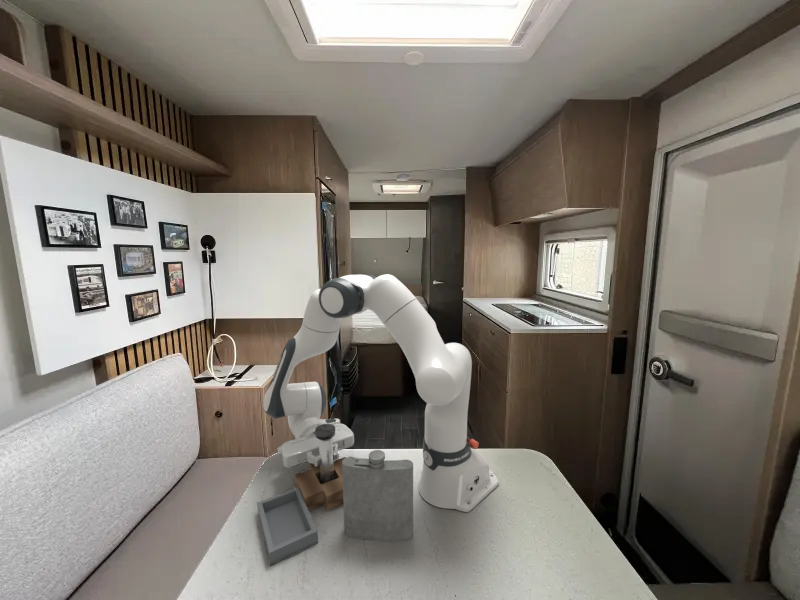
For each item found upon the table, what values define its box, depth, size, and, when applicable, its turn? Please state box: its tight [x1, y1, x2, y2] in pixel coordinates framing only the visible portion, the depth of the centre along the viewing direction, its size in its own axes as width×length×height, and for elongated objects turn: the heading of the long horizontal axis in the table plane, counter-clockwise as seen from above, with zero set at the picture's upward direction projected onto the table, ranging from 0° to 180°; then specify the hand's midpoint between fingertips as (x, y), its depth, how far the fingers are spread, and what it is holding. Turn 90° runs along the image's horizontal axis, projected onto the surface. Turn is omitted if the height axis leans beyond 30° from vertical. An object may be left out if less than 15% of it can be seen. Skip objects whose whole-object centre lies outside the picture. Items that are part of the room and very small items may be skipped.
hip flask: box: [342, 449, 414, 542], centre depth 73 cm, size 16×4×20 cm, turn 85°
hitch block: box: [294, 456, 347, 512], centre depth 88 cm, size 15×15×4 cm
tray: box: [256, 487, 319, 567], centre depth 76 cm, size 10×16×3 cm, turn 32°
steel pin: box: [315, 424, 335, 485], centre depth 87 cm, size 5×5×18 cm
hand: (327, 460), depth 87 cm, fingers closed on steel pin, 4 cm apart
